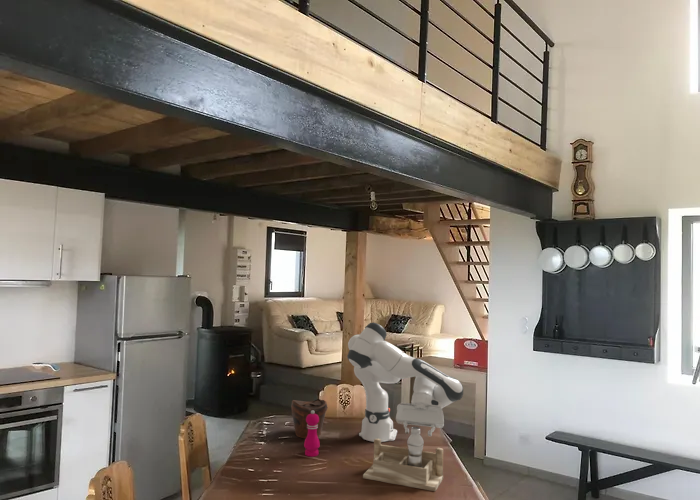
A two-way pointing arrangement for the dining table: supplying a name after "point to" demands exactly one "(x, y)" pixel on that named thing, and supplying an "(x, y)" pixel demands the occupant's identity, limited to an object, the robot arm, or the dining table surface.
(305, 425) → the brown flower pot
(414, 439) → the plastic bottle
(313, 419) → the magenta pepper grinder
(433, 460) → the wooden compartment rack
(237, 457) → the dining table surface
